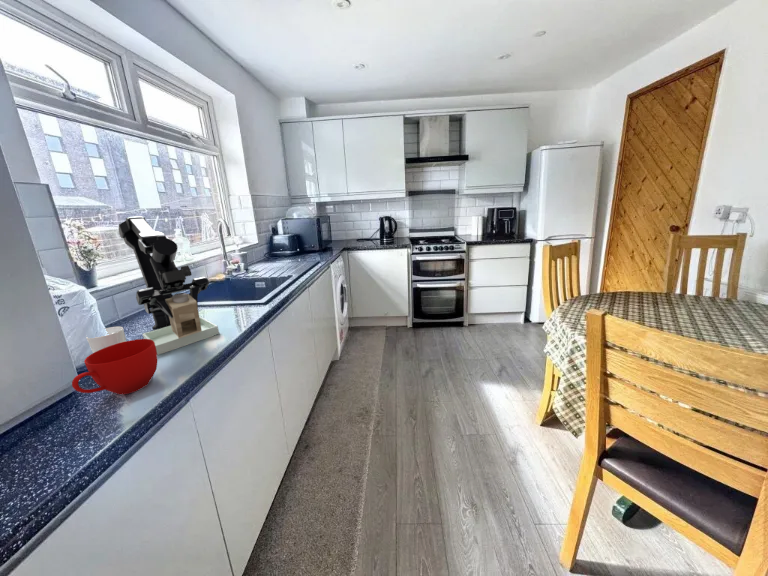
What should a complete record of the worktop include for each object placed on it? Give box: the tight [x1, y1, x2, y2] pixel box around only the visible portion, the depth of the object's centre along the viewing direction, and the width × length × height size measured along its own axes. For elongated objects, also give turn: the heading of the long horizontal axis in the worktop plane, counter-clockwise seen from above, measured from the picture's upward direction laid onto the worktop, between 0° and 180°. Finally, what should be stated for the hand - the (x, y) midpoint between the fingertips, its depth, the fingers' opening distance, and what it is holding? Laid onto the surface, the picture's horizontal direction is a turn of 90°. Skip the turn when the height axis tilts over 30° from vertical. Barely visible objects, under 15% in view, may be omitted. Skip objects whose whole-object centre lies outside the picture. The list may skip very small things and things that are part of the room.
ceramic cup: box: [71, 338, 158, 395], centre depth 71 cm, size 13×17×10 cm
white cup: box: [85, 326, 127, 354], centre depth 86 cm, size 8×8×10 cm
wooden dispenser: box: [165, 292, 202, 338], centre depth 93 cm, size 6×6×12 cm
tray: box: [142, 316, 220, 356], centre depth 102 cm, size 16×18×3 cm
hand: (184, 314), depth 92 cm, fingers closed on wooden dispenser, 6 cm apart
